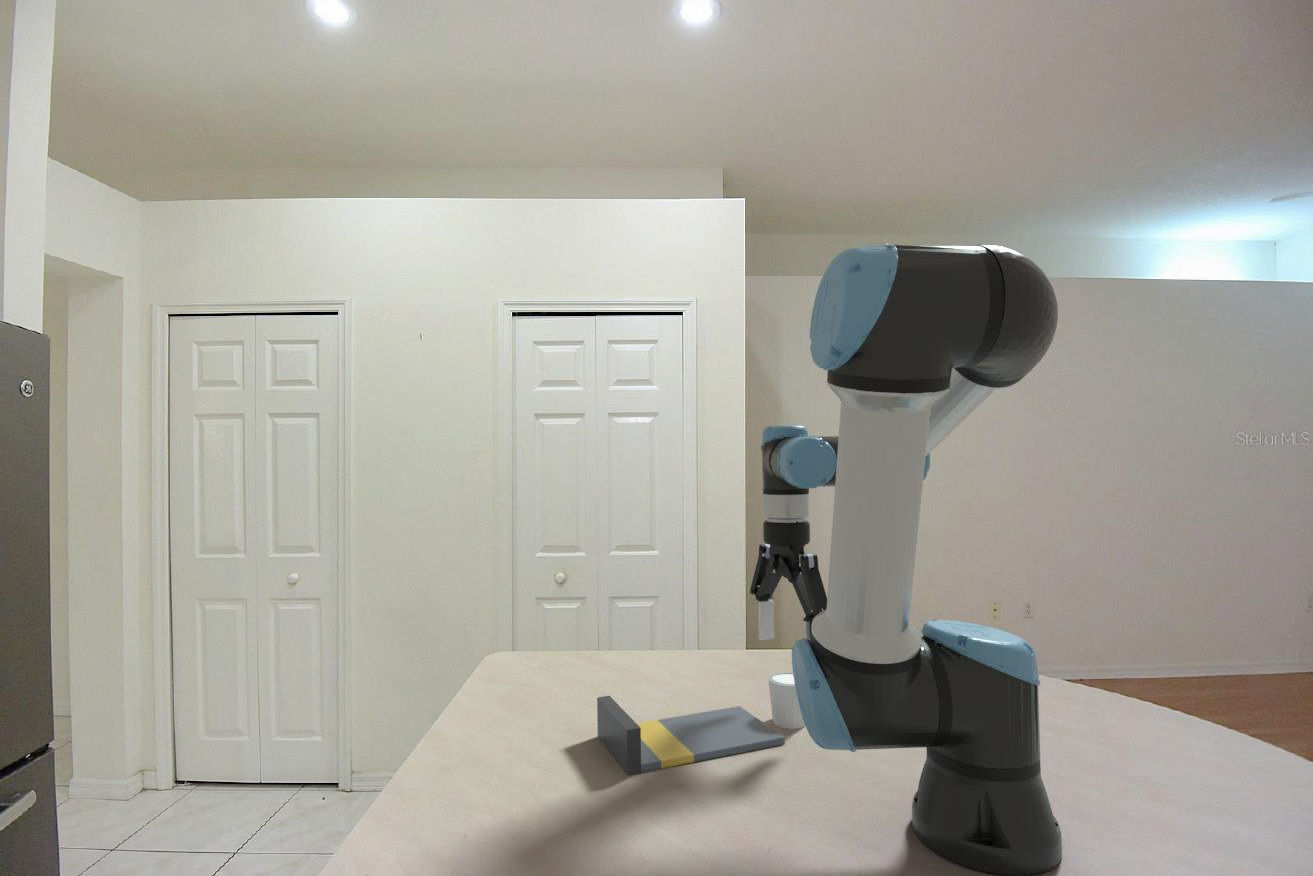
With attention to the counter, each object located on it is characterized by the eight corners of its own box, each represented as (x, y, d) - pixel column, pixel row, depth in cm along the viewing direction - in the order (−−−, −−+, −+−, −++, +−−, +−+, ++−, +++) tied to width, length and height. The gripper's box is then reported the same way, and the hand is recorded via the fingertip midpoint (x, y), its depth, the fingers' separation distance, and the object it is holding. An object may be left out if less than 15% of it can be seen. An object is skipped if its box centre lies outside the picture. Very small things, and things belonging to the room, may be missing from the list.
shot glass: (816, 730, 106) (815, 685, 107) (772, 730, 106) (771, 685, 107) (807, 714, 113) (806, 671, 113) (766, 714, 113) (765, 672, 114)
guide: (784, 744, 101) (784, 703, 101) (627, 775, 92) (626, 730, 92) (739, 712, 114) (738, 676, 114) (597, 736, 105) (597, 697, 105)
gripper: (853, 526, 101) (856, 669, 100) (766, 512, 124) (768, 628, 124) (811, 528, 98) (813, 676, 98) (730, 514, 121) (731, 633, 121)
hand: (788, 649), depth 111 cm, fingers open, 13 cm apart
